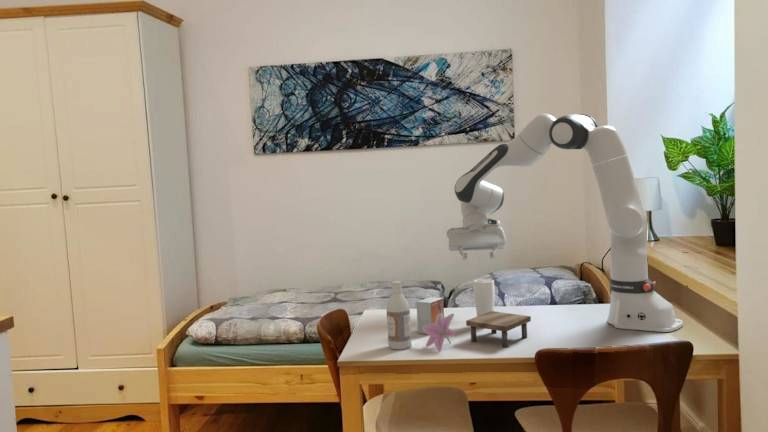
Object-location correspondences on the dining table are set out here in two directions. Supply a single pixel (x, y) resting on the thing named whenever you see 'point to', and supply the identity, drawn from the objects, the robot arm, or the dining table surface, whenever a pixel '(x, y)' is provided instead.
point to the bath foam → (398, 319)
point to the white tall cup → (484, 295)
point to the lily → (439, 331)
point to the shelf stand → (498, 324)
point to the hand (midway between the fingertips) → (478, 258)
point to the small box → (429, 311)
